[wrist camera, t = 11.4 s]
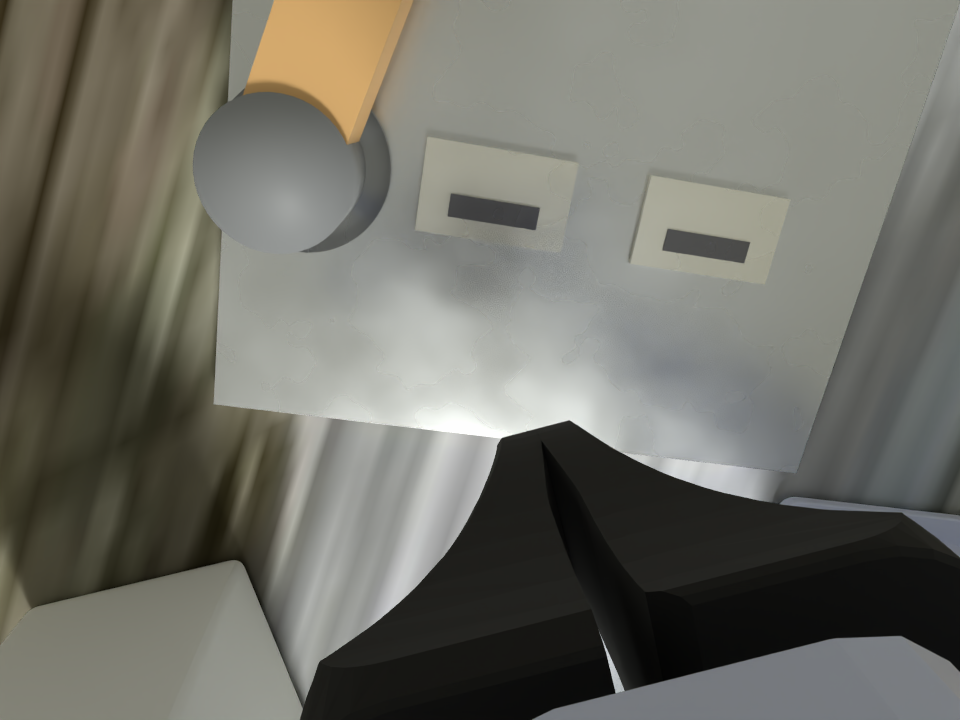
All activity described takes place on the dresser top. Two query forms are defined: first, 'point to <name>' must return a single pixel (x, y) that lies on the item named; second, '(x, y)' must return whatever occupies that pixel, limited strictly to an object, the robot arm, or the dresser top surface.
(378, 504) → the dresser top surface
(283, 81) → the tan piece
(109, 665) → the medicine bottle
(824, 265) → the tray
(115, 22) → the dresser top surface
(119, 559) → the dresser top surface
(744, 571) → the robot arm
